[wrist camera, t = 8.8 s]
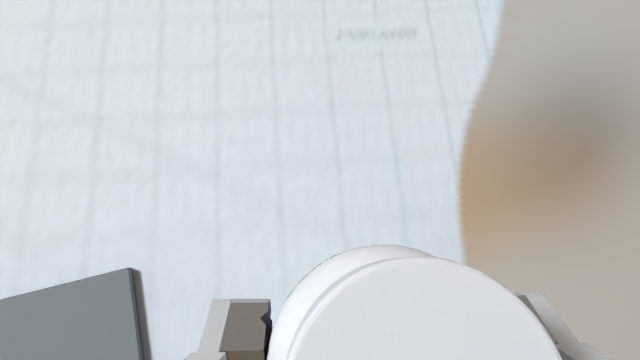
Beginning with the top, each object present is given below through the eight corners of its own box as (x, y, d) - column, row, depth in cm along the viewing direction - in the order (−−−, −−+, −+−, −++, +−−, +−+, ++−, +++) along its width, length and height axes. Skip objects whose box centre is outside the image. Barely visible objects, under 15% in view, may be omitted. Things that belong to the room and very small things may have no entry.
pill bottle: (260, 295, 16) (191, 306, 6) (384, 239, 16) (496, 171, 7) (317, 441, 14) (341, 753, 5) (448, 372, 15) (698, 519, 6)
